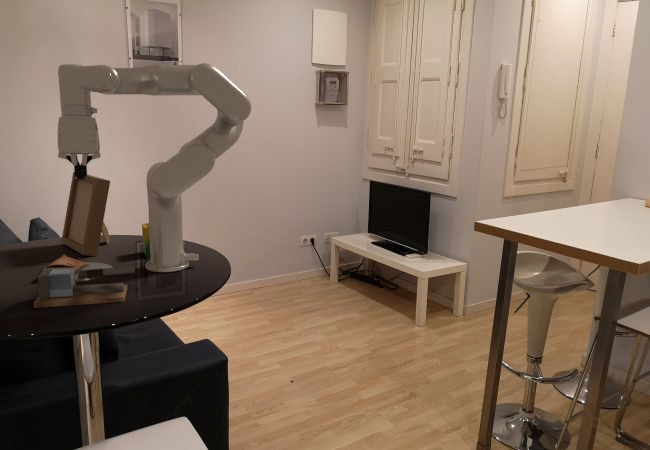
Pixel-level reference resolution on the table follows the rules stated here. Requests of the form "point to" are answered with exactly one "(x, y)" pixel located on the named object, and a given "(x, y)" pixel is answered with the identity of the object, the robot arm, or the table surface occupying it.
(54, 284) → the grey slider block
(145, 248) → the crayon box
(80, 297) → the rail board
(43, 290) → the dark grey slab
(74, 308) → the table surface
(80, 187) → the photo frame
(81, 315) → the table surface
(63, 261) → the sunglasses case
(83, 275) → the smartphone
